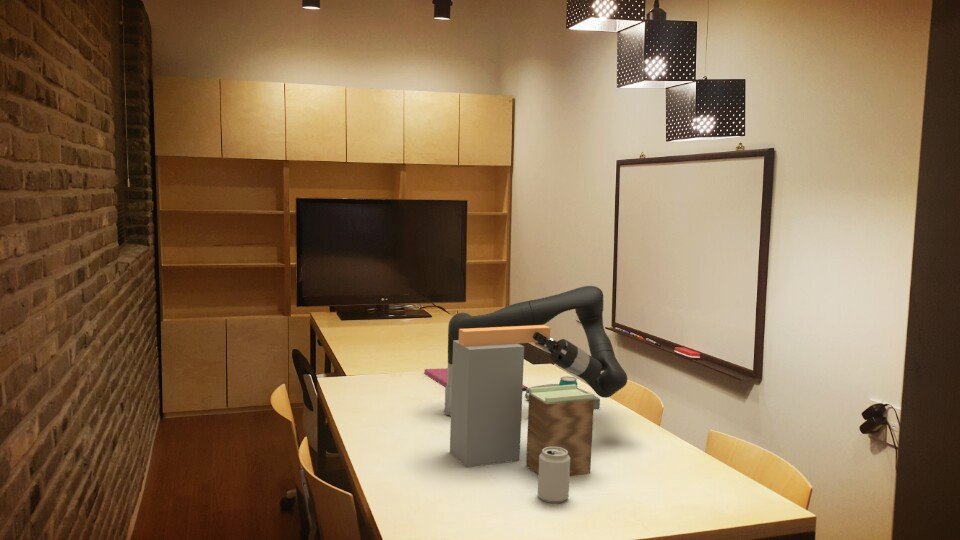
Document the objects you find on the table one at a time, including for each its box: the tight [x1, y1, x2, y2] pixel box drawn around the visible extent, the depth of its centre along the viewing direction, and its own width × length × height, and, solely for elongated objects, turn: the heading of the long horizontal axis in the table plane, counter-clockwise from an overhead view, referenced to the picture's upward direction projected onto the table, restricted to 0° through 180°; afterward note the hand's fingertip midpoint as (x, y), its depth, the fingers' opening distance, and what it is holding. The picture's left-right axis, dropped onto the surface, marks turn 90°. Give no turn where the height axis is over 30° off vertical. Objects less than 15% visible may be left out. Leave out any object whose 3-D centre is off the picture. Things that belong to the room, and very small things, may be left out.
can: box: [537, 447, 570, 504], centre depth 178 cm, size 8×8×12 cm
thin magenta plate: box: [423, 367, 529, 392], centre depth 281 cm, size 40×4×27 cm
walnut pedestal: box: [525, 394, 595, 477], centre depth 196 cm, size 14×10×20 cm
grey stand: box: [449, 340, 525, 468], centre depth 203 cm, size 16×12×32 cm
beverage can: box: [558, 376, 578, 386], centre depth 235 cm, size 6×6×15 cm
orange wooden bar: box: [459, 324, 551, 347], centre depth 203 cm, size 26×4×4 cm, turn 113°
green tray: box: [528, 384, 595, 404], centre depth 195 cm, size 14×10×2 cm
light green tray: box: [524, 383, 601, 410], centre depth 258 cm, size 19×22×5 cm
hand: (527, 331), depth 206 cm, fingers open, 8 cm apart
